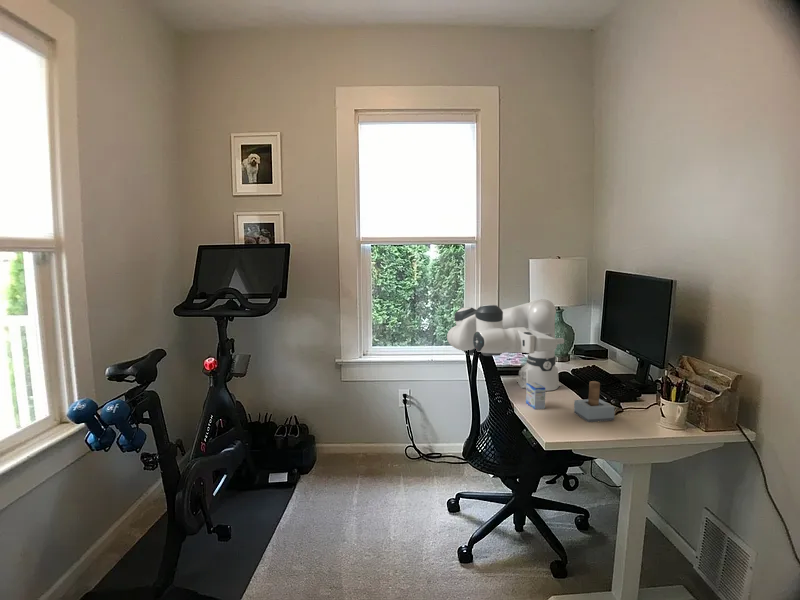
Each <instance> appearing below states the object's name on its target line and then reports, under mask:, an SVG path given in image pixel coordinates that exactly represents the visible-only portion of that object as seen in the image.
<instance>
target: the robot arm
mask: <svg viewBox="0 0 800 600" xmlns="http://www.w3.org/2000/svg"><path fill="white" fill-rule="evenodd" d="M556 309H557V308H556V306H555V304H554V303H553V302H552V301H551V300H548V299H545V298H544V299H543V298H542V299H538V300H534V301H530V302H526V303H522V304H519V305H515V306H512V307H508V308H503V309H501V307H500V306H498V305H496V304H492V303H491V304H484V305H481V306H479V307H477V309H476V308H474V307H467V306H466V307H461V308H459V310H457V311H456V312H455V313H454V321H455V326H452V327H451V328H450V329H449V330H448V332H447V334H446V339H447V342H448V344H449V345H450V346H451V347H453V348H454V349H456V350H459V351H462V352H463V353H465V354H466V355H467V353H466V351H467V352H468V350H469V355H468V356H472V357H473V353H474V348H475V349H476V351H477V352H481V354H482V355H483V356H485V357H495V356H501V355H502V354H503V353H511V354H513V353H514V354H515V353H524V354H527V358H526V363H525V364H524V365H523V366H522V367H520V370H519V371H518V376H515V379H516V380H515V382H516V383H517V382H518V383H517V384H518V385H519V387H520V388H521V389H526V383H529V382H536V383H538V384H540V385H541V386H543V387H545V392H546V391H547V392H548V391H554V390H558V389H559V388H560V387H562V383H561V382H559V369H558V367H557V366H556V364H557V363H556V362H557V358H556V355H555V351H556V349H557V348H558V347H557V346H558V345H563V344H564V343H565V339H564V338H563V337H557V338H556V329H555V328H556V327H555V325H556V323H555V322H556V315H557V314H556V313H557V310H556ZM559 386H560V387H559Z"/></svg>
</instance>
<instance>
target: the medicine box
mask: <svg viewBox="0 0 800 600" xmlns="http://www.w3.org/2000/svg"><path fill="white" fill-rule="evenodd" d="M525 389H526V390H525V391H526V392H525V404H526V405H527V404H528V406H529V407H530V408H532V409H533V410H544V409H546V391H545V387H543V386H541V385H540V384H538V383H536V382H529V383H526V388H525Z"/></svg>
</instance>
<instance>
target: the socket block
mask: <svg viewBox="0 0 800 600" xmlns="http://www.w3.org/2000/svg"><path fill="white" fill-rule="evenodd" d="M573 401H574V404H573V405H574V406H573V407H574V408H573V410H574V411H573V414H574V415H577V417H580V418H581V419H583V420H584V421H585V422H587V423H593V422H594V423H595V422H596V423H598V421H599V422H611V421H612V420H614V421H615V406H614V405H611V404H610V403H608V402H607V401H605V400H602V399H601V398H599V406H590V405H588V398H587V399H585V398H584V399H574V400H573Z"/></svg>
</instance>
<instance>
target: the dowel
mask: <svg viewBox="0 0 800 600" xmlns="http://www.w3.org/2000/svg"><path fill="white" fill-rule="evenodd" d="M600 388H601V383H600V381H596V380H592V381H591V380H590V381H589V384H588V398H587V399H588V405H590V406H599V399H600V393H601V392H600V391H601V389H600Z"/></svg>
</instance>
